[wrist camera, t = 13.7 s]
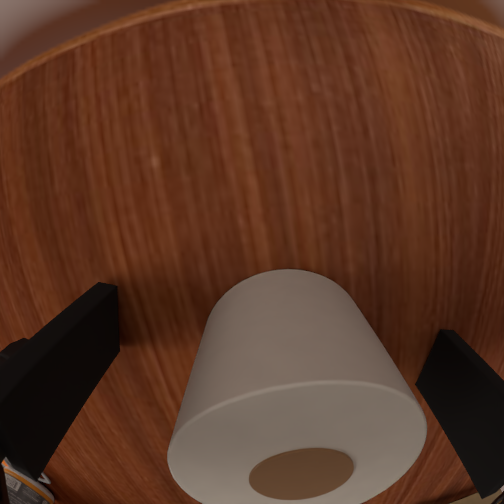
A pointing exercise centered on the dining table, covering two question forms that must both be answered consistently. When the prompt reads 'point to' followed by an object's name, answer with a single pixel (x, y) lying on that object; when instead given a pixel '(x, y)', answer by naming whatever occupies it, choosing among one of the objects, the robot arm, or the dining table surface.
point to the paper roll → (293, 400)
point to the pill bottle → (26, 489)
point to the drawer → (478, 499)
